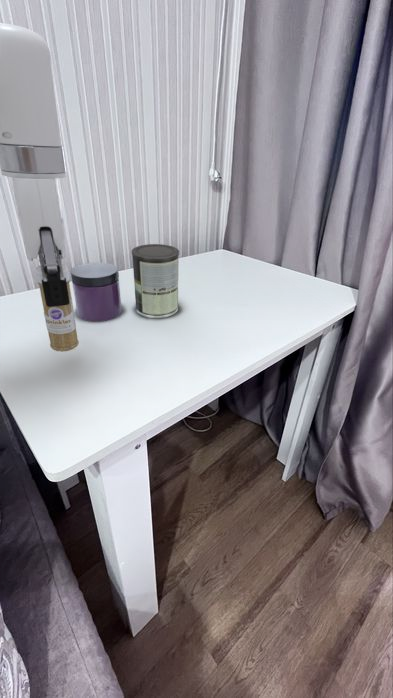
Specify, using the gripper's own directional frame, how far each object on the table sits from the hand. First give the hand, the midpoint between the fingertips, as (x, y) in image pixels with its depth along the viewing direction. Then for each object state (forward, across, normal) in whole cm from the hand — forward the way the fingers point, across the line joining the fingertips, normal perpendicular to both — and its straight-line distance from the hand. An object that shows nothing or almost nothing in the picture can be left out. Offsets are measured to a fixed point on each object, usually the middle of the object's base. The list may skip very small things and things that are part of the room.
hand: (56, 296), depth 51 cm
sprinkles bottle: (+9, 0, 0) cm, 9 cm away
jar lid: (+4, -21, +9) cm, 23 cm away
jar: (+14, -21, +9) cm, 27 cm away
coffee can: (+13, -18, +22) cm, 31 cm away
